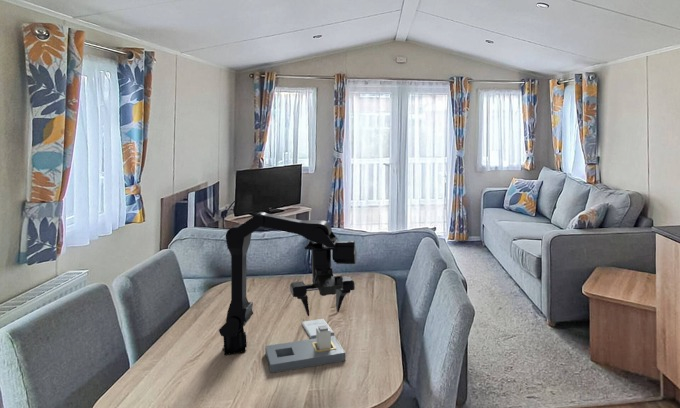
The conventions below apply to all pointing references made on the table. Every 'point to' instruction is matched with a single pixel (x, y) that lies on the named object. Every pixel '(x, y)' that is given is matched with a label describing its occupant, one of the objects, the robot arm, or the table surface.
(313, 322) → the external hard drive
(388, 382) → the table surface
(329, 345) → the plug
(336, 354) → the panel
